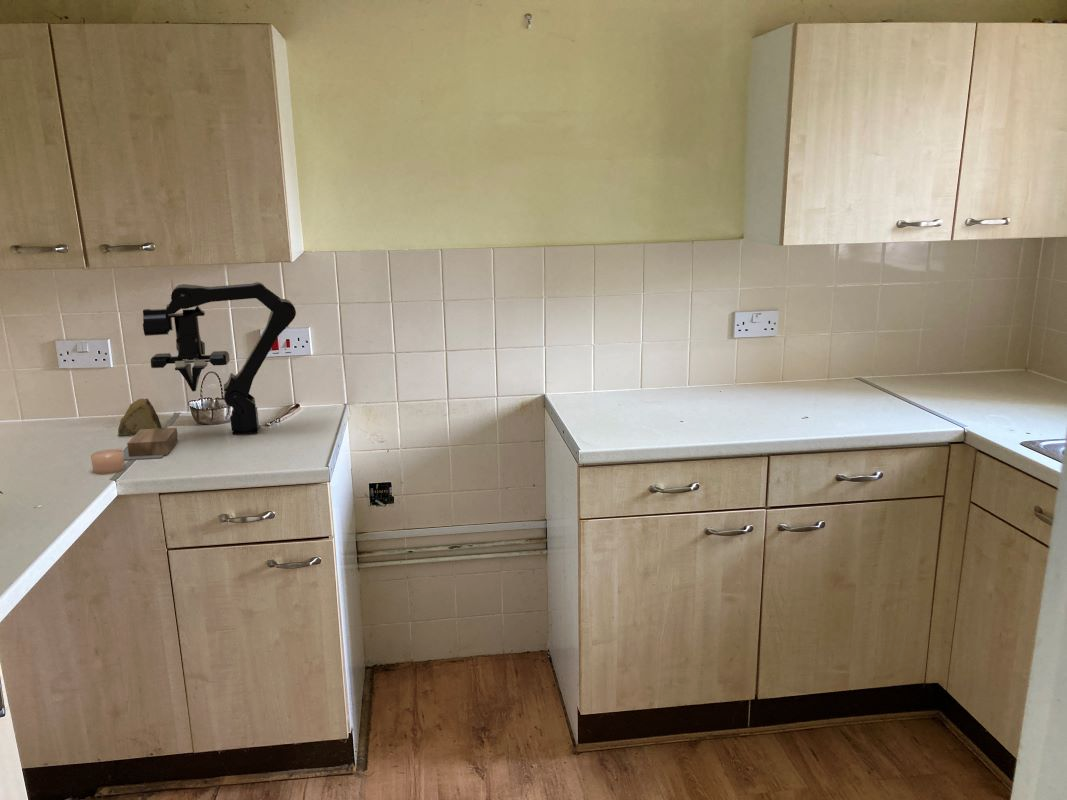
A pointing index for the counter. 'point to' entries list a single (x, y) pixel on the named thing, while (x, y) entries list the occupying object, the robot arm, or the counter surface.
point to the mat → (126, 456)
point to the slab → (152, 442)
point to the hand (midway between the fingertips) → (194, 391)
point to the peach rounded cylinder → (108, 461)
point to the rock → (139, 418)
